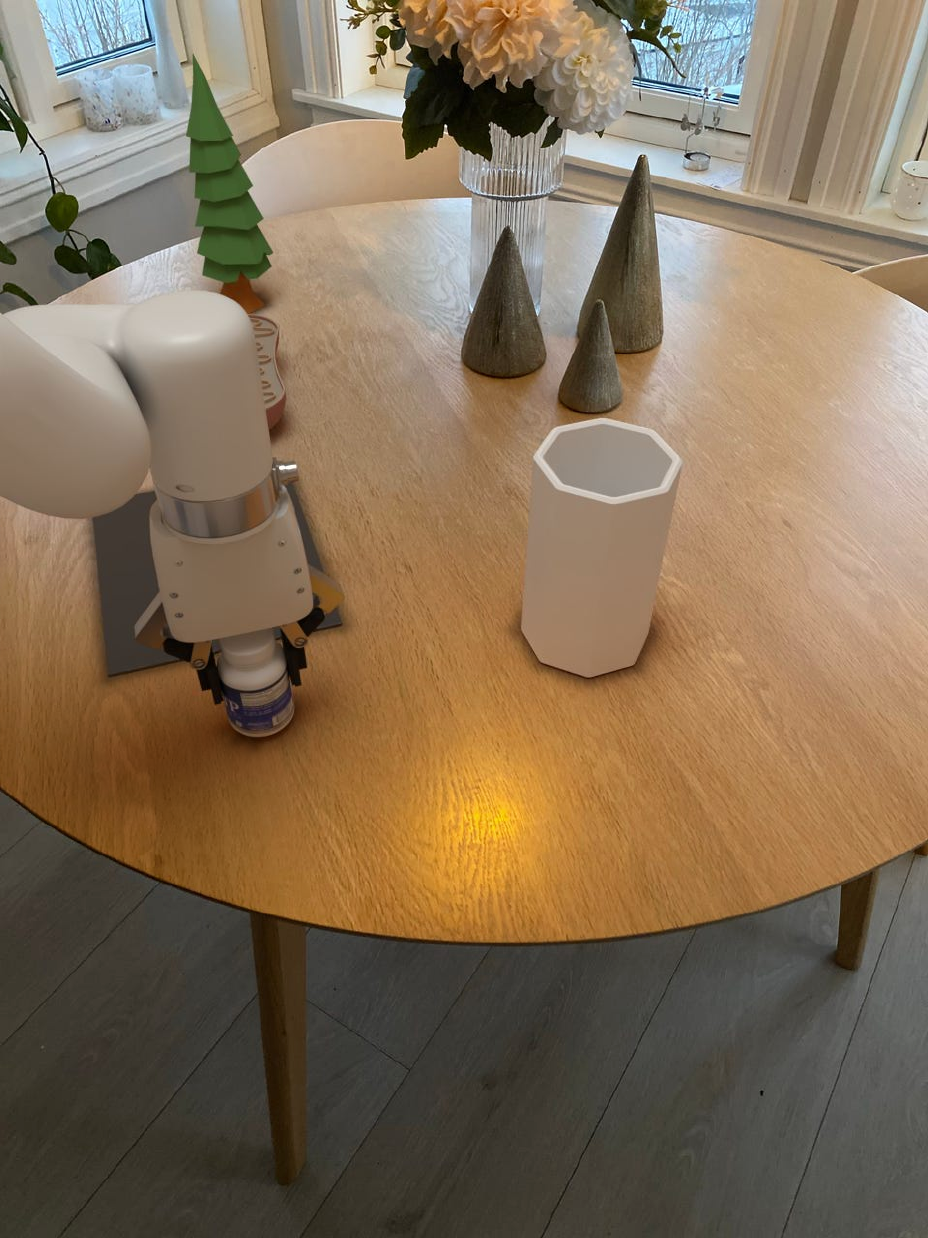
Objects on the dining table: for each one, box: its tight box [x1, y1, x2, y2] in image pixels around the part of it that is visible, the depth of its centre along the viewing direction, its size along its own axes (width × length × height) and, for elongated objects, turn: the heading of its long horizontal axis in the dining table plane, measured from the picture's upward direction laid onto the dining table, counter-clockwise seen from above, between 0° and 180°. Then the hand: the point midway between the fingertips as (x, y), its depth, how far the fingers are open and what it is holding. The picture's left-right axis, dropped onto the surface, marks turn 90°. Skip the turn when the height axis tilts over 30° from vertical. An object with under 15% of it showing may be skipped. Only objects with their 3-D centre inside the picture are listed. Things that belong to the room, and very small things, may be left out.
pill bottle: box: [216, 628, 295, 738], centre depth 73 cm, size 5×5×9 cm
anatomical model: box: [247, 313, 287, 430], centre depth 110 cm, size 23×10×5 cm, turn 11°
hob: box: [91, 482, 343, 677], centre depth 91 cm, size 20×25×1 cm
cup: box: [520, 417, 683, 678], centre depth 78 cm, size 11×11×18 cm
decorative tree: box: [185, 53, 274, 314], centre depth 119 cm, size 10×9×30 cm
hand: (255, 680), depth 74 cm, fingers closed on pill bottle, 5 cm apart
